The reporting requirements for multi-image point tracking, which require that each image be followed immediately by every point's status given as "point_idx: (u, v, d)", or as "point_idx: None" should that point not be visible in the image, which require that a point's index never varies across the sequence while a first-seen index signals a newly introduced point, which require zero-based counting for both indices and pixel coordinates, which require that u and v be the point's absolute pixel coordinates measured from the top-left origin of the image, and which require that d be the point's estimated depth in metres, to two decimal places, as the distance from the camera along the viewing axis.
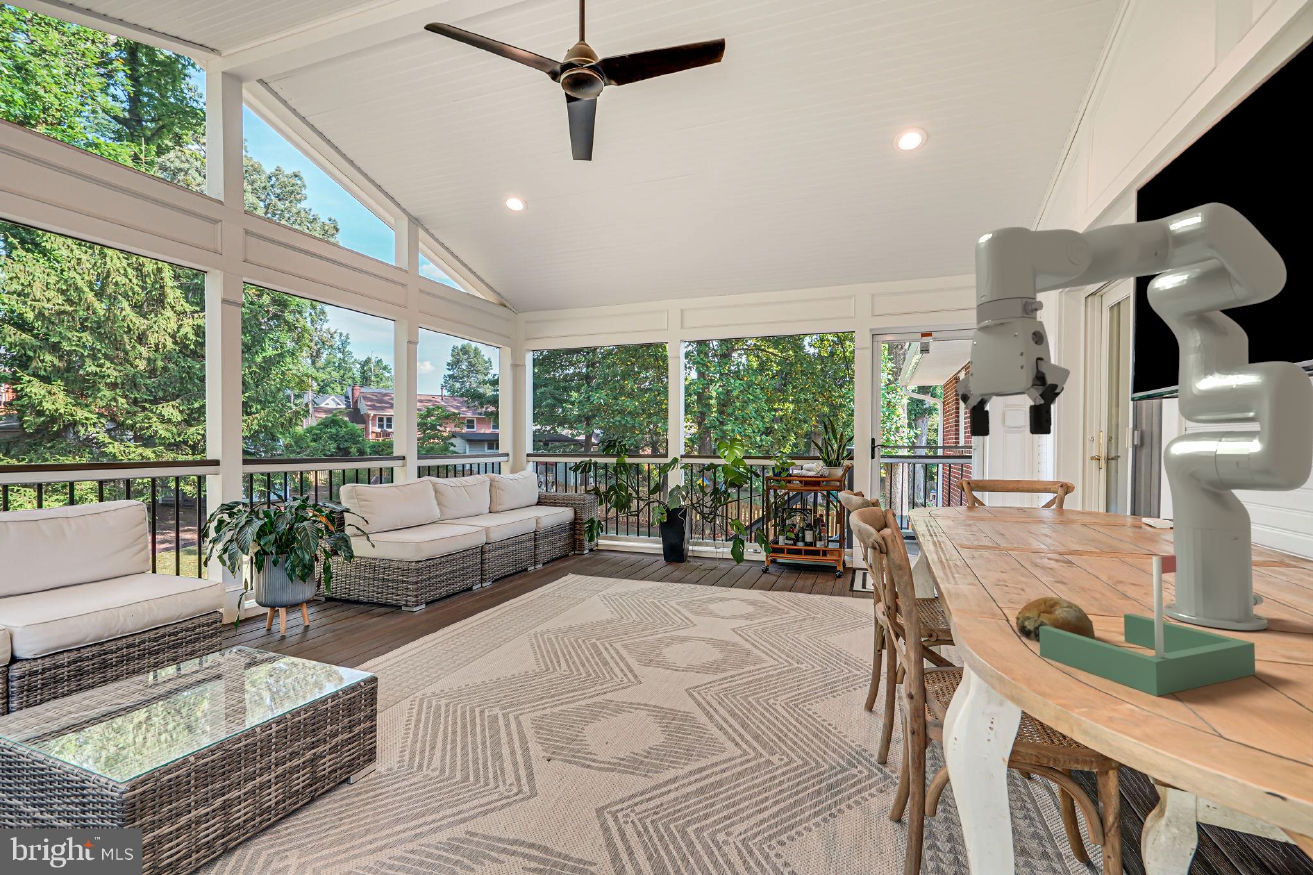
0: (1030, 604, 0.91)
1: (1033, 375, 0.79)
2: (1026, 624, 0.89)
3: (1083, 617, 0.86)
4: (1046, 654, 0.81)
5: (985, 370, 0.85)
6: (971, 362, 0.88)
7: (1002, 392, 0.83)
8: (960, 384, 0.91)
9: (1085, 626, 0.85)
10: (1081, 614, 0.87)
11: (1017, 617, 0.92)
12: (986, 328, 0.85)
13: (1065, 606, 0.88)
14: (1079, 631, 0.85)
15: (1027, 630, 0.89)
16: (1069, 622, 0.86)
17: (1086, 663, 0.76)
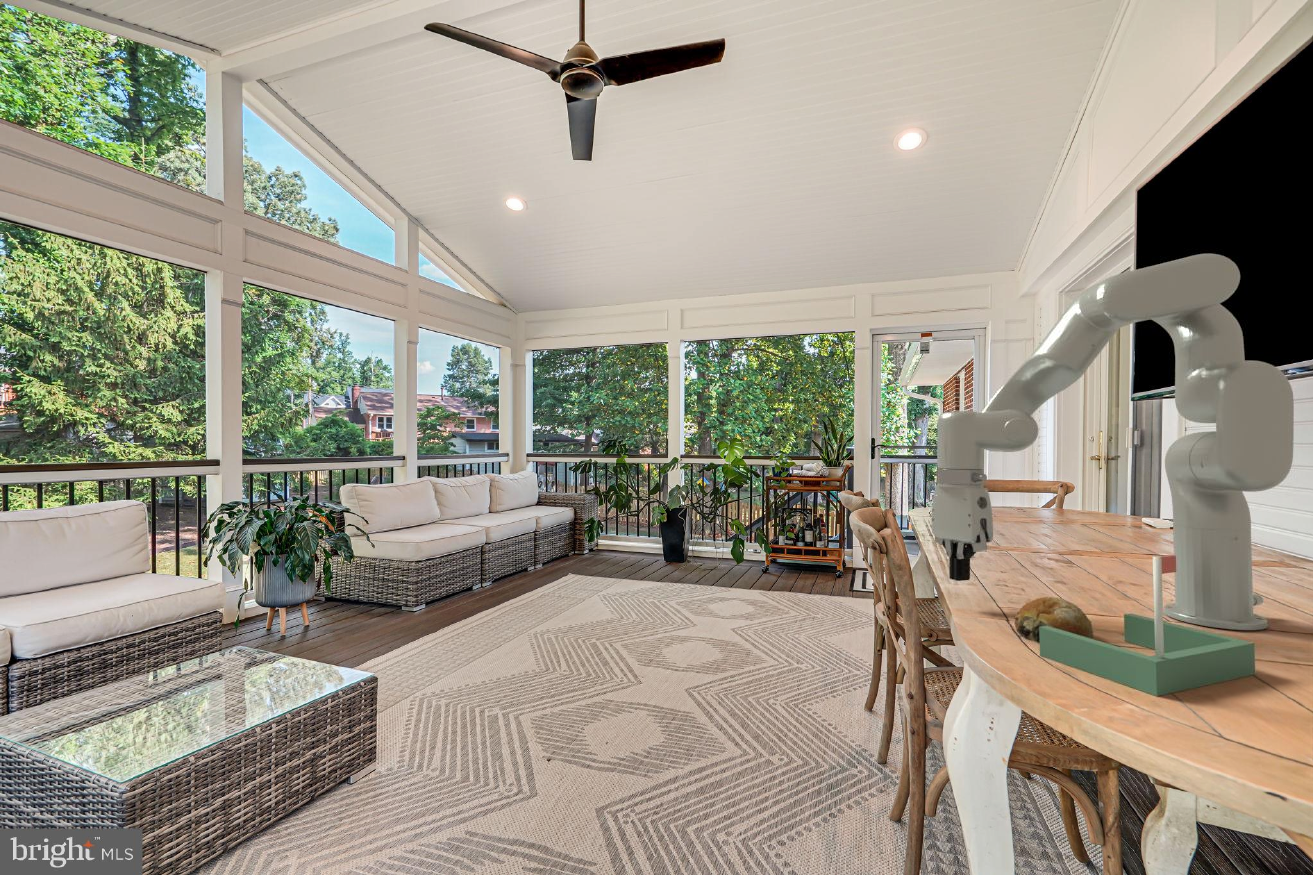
0: (1029, 604, 0.91)
1: None
2: (1025, 624, 0.89)
3: (1082, 617, 0.86)
4: (1046, 654, 0.81)
5: (943, 520, 1.07)
6: (933, 509, 1.10)
7: (955, 540, 1.05)
8: (937, 537, 1.11)
9: (1083, 626, 0.85)
10: (1080, 614, 0.87)
11: (1016, 617, 0.92)
12: (944, 487, 1.07)
13: (1064, 606, 0.88)
14: (1078, 631, 0.85)
15: (1026, 630, 0.89)
16: (1068, 622, 0.86)
17: (1086, 663, 0.76)
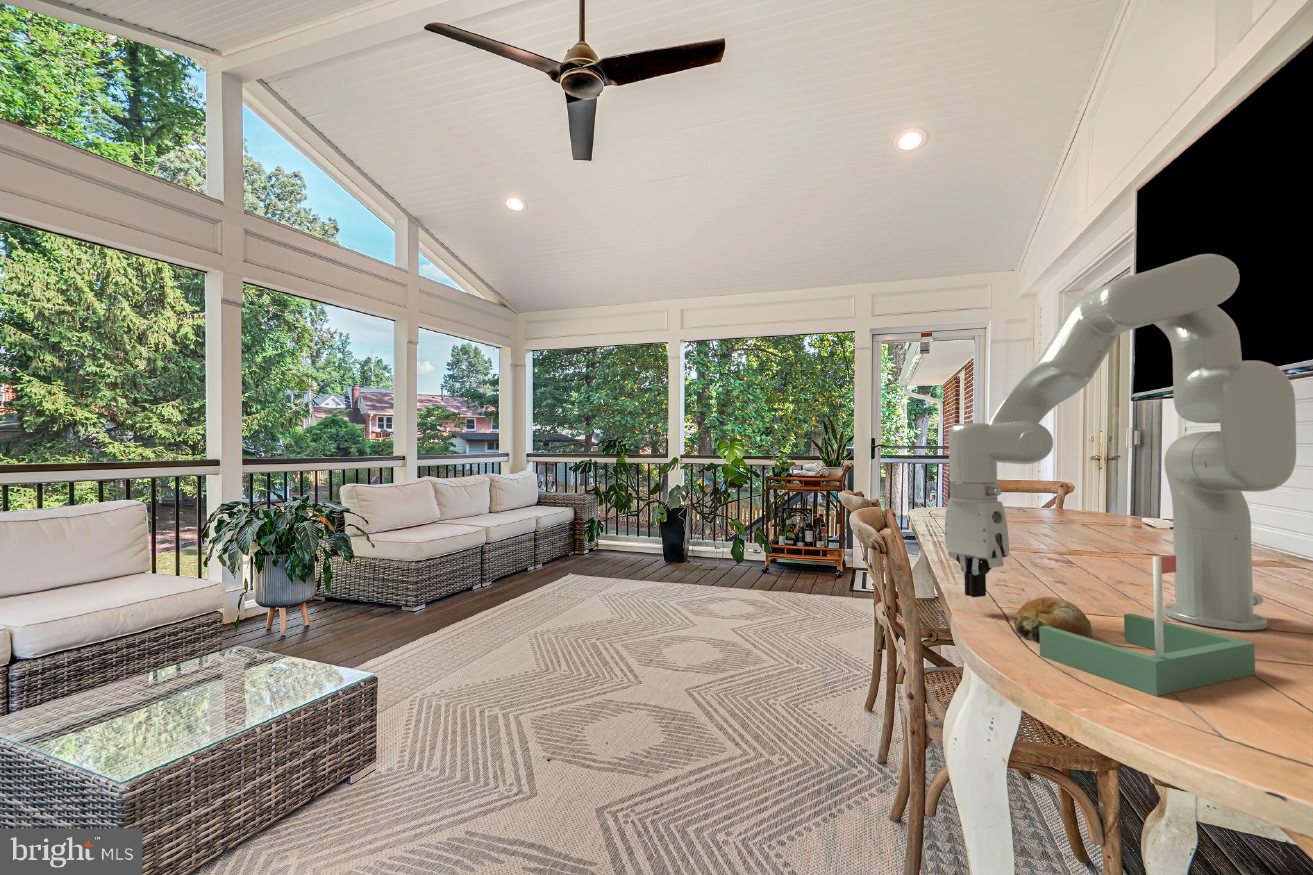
0: (1028, 604, 0.91)
1: (985, 558, 1.00)
2: (1024, 624, 0.89)
3: (1081, 617, 0.86)
4: (1046, 654, 0.81)
5: (956, 534, 1.05)
6: (946, 524, 1.07)
7: (969, 555, 1.03)
8: (951, 552, 1.08)
9: (1082, 626, 0.86)
10: (1079, 614, 0.87)
11: (1015, 617, 0.92)
12: (957, 501, 1.04)
13: (1063, 606, 0.88)
14: (1077, 631, 0.85)
15: (1025, 630, 0.89)
16: (1067, 622, 0.86)
17: (1086, 663, 0.76)
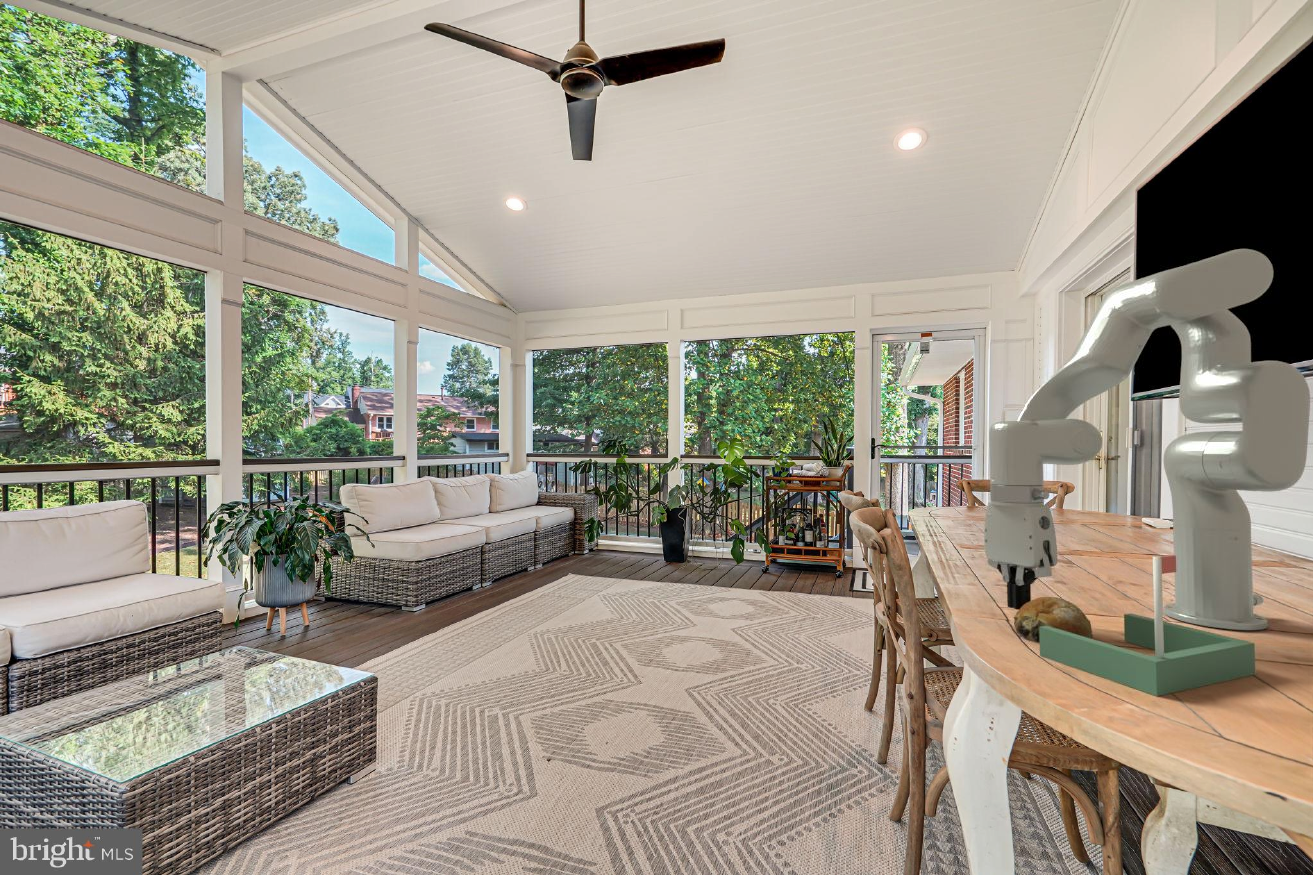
0: (1028, 604, 0.91)
1: (1031, 567, 0.92)
2: (1024, 624, 0.89)
3: (1081, 617, 0.86)
4: (1046, 654, 0.81)
5: (998, 541, 0.97)
6: (985, 529, 0.99)
7: (1013, 564, 0.95)
8: (990, 560, 1.00)
9: (1082, 626, 0.85)
10: (1079, 614, 0.87)
11: (1015, 617, 0.91)
12: (998, 505, 0.96)
13: (1063, 606, 0.88)
14: (1077, 631, 0.85)
15: (1025, 630, 0.89)
16: (1067, 622, 0.86)
17: (1086, 663, 0.76)
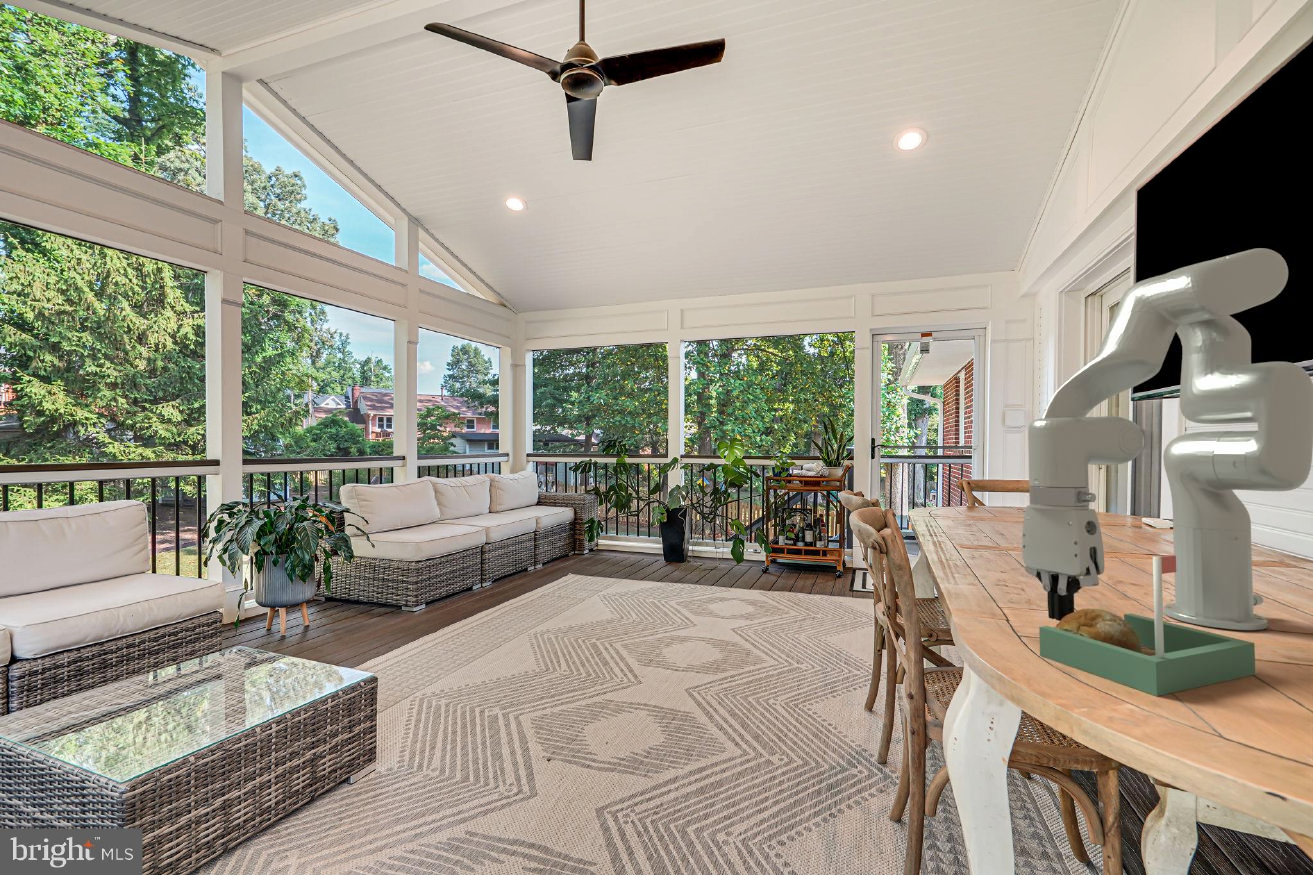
0: (1069, 616, 0.84)
1: None
2: None
3: (1128, 631, 0.79)
4: (1046, 654, 0.81)
5: (1038, 547, 0.90)
6: (1023, 534, 0.93)
7: (1055, 572, 0.88)
8: (1028, 567, 0.93)
9: (1130, 642, 0.78)
10: (1126, 628, 0.80)
11: None
12: (1039, 508, 0.90)
13: (1108, 619, 0.81)
14: (1124, 647, 0.78)
15: None
16: (1112, 637, 0.79)
17: (1086, 663, 0.76)
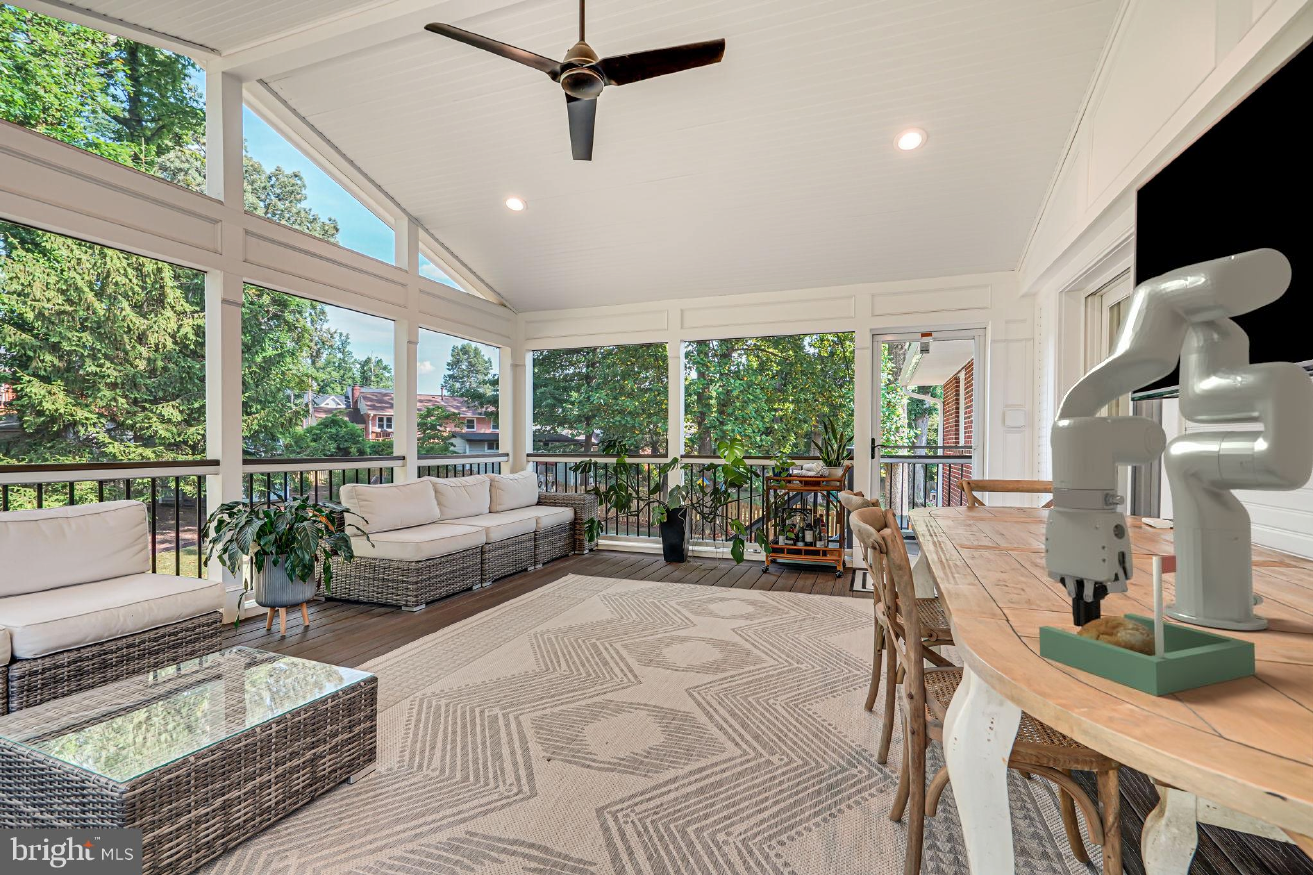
0: (1089, 624, 0.81)
1: None
2: None
3: (1152, 641, 0.75)
4: (1046, 654, 0.81)
5: (1063, 552, 0.86)
6: (1046, 538, 0.89)
7: (1081, 578, 0.84)
8: (1051, 572, 0.90)
9: (1152, 652, 0.75)
10: (1149, 638, 0.76)
11: None
12: (1063, 511, 0.86)
13: (1130, 628, 0.77)
14: None
15: None
16: (1133, 646, 0.75)
17: (1086, 663, 0.76)
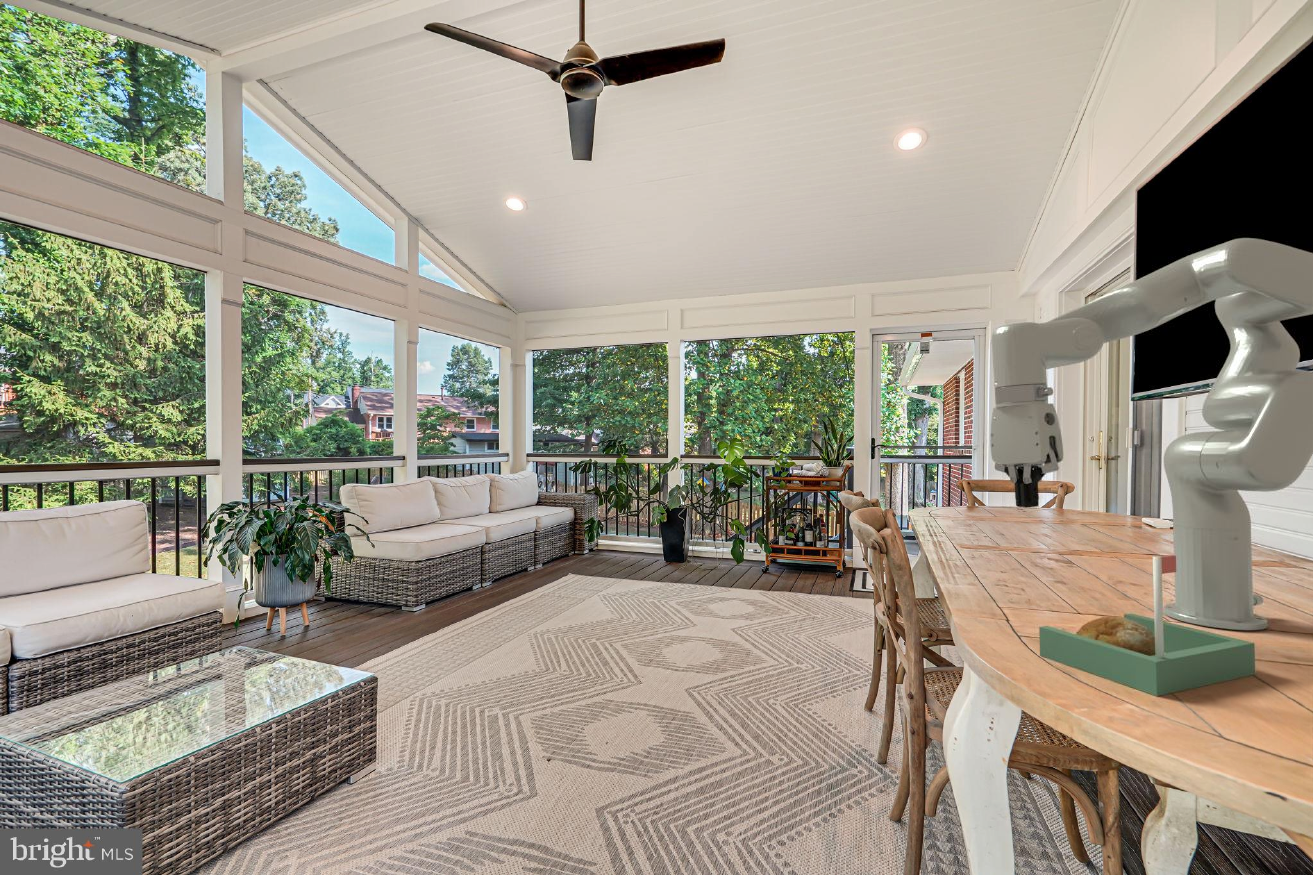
0: (1089, 623, 0.81)
1: (1038, 464, 0.94)
2: None
3: (1151, 641, 0.75)
4: (1046, 654, 0.81)
5: (1004, 443, 0.99)
6: (991, 434, 1.01)
7: (1020, 463, 0.97)
8: (997, 465, 1.02)
9: (1151, 652, 0.75)
10: (1148, 638, 0.76)
11: None
12: (1004, 407, 0.98)
13: (1130, 628, 0.77)
14: None
15: None
16: (1132, 646, 0.75)
17: (1086, 663, 0.76)
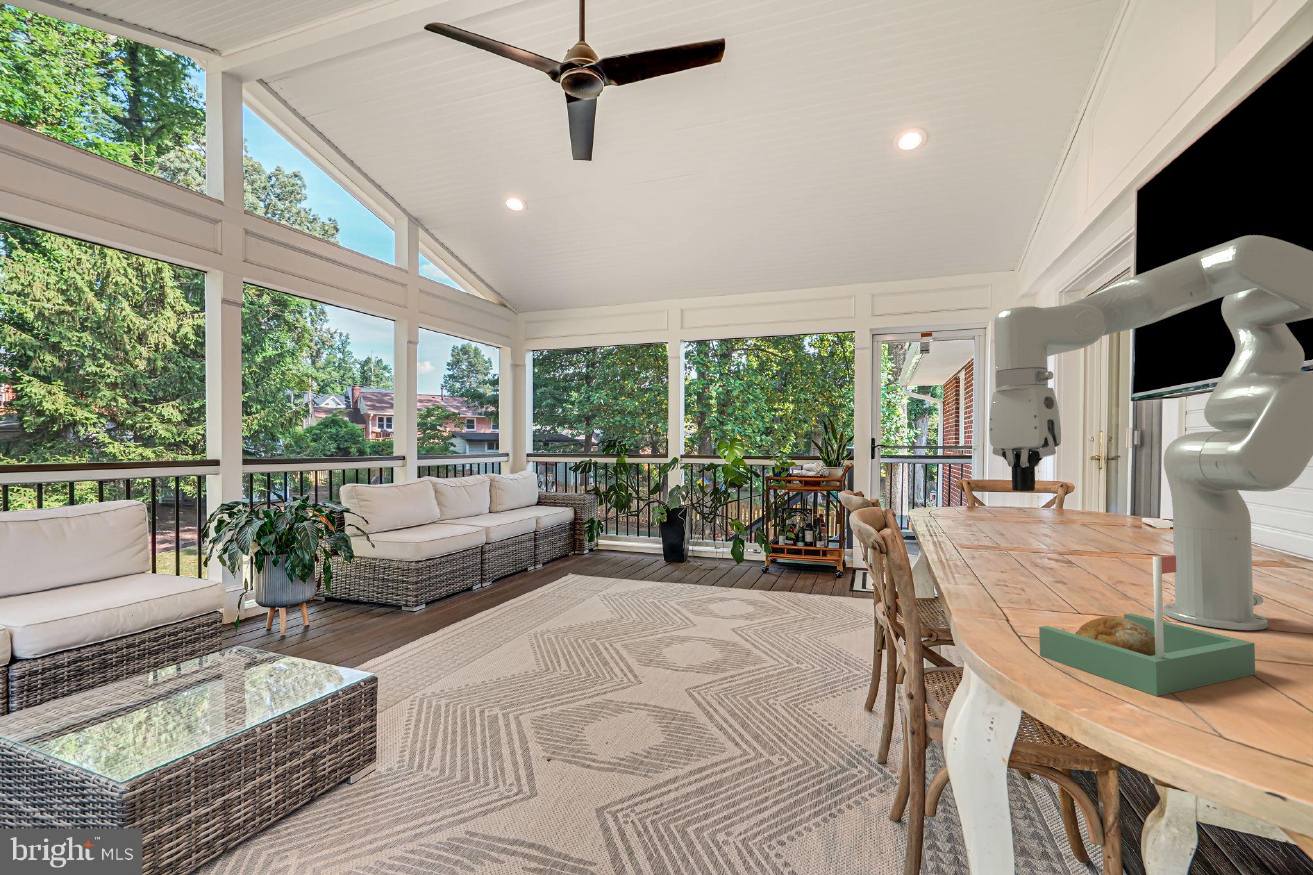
0: (1088, 623, 0.81)
1: (1035, 447, 0.95)
2: None
3: (1150, 641, 0.75)
4: (1046, 654, 0.81)
5: (1003, 427, 0.99)
6: (990, 418, 1.02)
7: (1018, 447, 0.97)
8: (995, 449, 1.02)
9: (1151, 652, 0.75)
10: (1147, 638, 0.76)
11: None
12: (1003, 391, 0.99)
13: (1129, 627, 0.77)
14: None
15: None
16: (1131, 646, 0.75)
17: (1086, 663, 0.76)
